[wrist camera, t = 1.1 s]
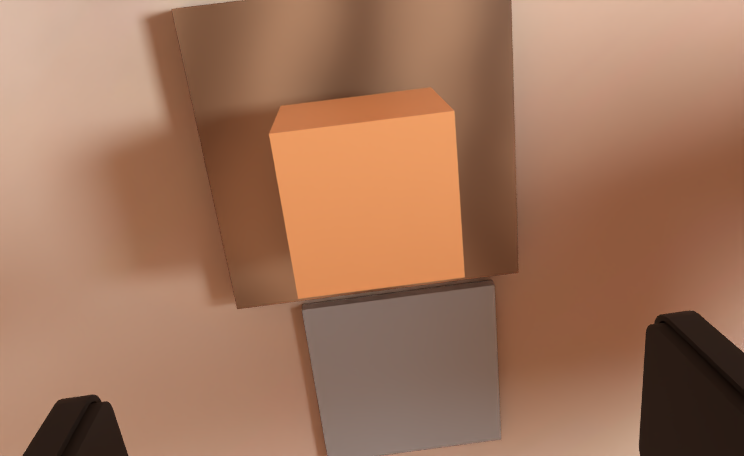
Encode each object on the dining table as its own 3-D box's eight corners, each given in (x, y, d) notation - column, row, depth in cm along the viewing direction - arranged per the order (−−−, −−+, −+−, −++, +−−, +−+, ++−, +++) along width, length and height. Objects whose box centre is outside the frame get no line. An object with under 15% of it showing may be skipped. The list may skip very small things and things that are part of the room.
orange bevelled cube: (430, 86, 24) (454, 111, 20) (441, 226, 27) (464, 277, 22) (280, 105, 24) (268, 133, 20) (303, 244, 27) (297, 299, 22)
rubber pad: (491, 279, 32) (494, 285, 32) (498, 432, 36) (501, 439, 35) (302, 304, 32) (301, 310, 32) (328, 455, 36) (328, 462, 35)
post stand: (501, -31, 27) (568, -38, 19) (510, 260, 32) (566, 346, 24) (179, 8, 26) (119, 16, 19) (241, 294, 32) (213, 392, 24)
